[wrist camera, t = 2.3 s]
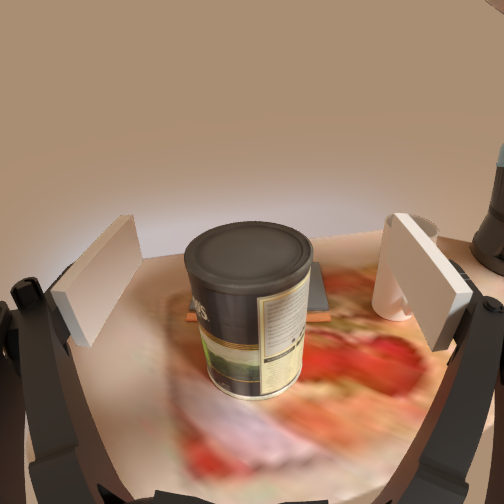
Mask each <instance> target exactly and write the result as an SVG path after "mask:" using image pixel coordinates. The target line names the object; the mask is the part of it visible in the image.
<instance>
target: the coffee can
mask: <svg viewBox="0 0 504 504" xmlns="http://www.w3.org/2000/svg"><path fill="white" fill-rule="evenodd" d="M312 261H313V247H312V244H311V242H310V241H309V239H308V238H307V237H306V236H304V235H303V234H302V233H300V232H299V231H297V230H295V229H293V228H290V227H287V226H284V225H280V224H276V223H271V222H261V221H247V222H237V223H230V224H226V225H222V226H218V227H215V228H213V229H210V230H208V231H206V232H204V233H202V234H201V235H199V236H198V237H196V238H195V239H194V240H192V242H190V244H189V245H188V246H187V248H186V250H185V254H184V262H185V266H186V270H187V272H188V275H189V280H190V286H191V291H192V296H193V302H194V306H195V311H196V316H197V321H198V325H199V330H200V335H201V340H202V344H203V349H204V353H205V358H206V362H207V370H208V374H209V376H210V378H211V380H212V381H213V383H214V384H215V385H216V386H217V387H218V388H219V389H220V390H221V391H223V392H224V393H226V394H228V395H230V396H232V397H235V398H238V399H243V400H264V399H269V398H272V397H275V396H277V395H279V394H281V393H283V392H284V391H286V390H287V389H289V388H290V387H291V386H292V385H293V384H294V383H295V382H296V380H297V379H298V377H299V375H300V372H301V368H302V354H303V345H304V335H305V326H306V315H307V305H308V294H309V281H310V269H311V264H312Z"/></svg>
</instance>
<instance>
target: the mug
mask: <svg viewBox="0 0 504 504" xmlns="http://www.w3.org/2000/svg"><path fill="white" fill-rule="evenodd" d="M393 215H394V214H392V215H389V216H388V217H386V219H385V225H384V231H383V237H382V244H381V251H380V257H379V264H378V270H377V275H376V281H375V286H374V292H373V298H372V307H373V309H374V311H375V312H376V313H377V314H378V315H379V316H381V317H382V318H384V319H387V320H390V321H404V320H407V319H409V318H410V317H412V315H414V314H413V312H412V310H411V308H410V306H409V304H408V302H407V300H406V298H405V296H404V294H403V292H402V290H401V289H400V287H399V285H398V283H397V281H396V279H395V277H394V276H393V274H392V272H391V270H390V268H389V267H388V265H387V263H386V261H385V260H386V255H387V250H388V244H389V239H390V233H391V227H392V221H393ZM408 215H409V216H410V217H411V218H412V219H413V220H414V221H415V223H416V224H417V225H418V226H419V227H420V228H421V229H422V230H423V231H424V233H425V234H426V235H427V236H428V237H429V238H430V239H431V240H432V242H433V243H434V244H435V245H436V242H437V238H438V234H439V230H438V228H437V227H436V225H434V224H433V223H432V222H430V221H428V220H427V219H424V218H422V217H419V216H416V215H411V214H408Z"/></svg>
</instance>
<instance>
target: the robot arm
mask: <svg viewBox="0 0 504 504" xmlns="http://www.w3.org/2000/svg"><path fill="white" fill-rule="evenodd" d="M485 1H486V2H488V3H489V4H490V5H491V6H493V7H494V8H495V9H496V10H498V11H499V12H501V13H502V14H504V0H485ZM496 166H497V170H496V176H495V182H494V187H493V192H492V197H491V201H490V206H489V210H488V214H487V216H486V217H485V219H484V221H483V223H482V224H481V226H480V228H479V231H477V232H476V233H475V235H474V238H473V241H472V244H471V251H472V253H473V255H474V256H475V257H476V258H477V259H478V260H479V261H480V262H481V263H482V264H483V265H484V266H486V267H487V268H489V269H490V270H492V271H494V272H496V273H498V274H500V275H503V276H504V144H502V146H501V147H500V151H499V157H498V162H497V163H496ZM385 261H386V263H387V265H388V267H389V268H390V270H391V272H392V274H393V276H394V277H395V279H396V281H397V283H398V285H399V287H400V289H401V290H402V292H403V294H404V296H405V298H406V300H407V302H408V304H409V306H410V308H411V310H412V312H413V314H414V316H415V318H416V320H417V322H418V324H419V326H420V328H421V330H422V332H423V334H424V336H425V339H426V341H427V343H428V345H429V347H430V350H431V352H434V351H441V350H447V349H448V347H449V345H450V343H451V341H452V339H454V340H455V342H456V344H457V346H456V348H455V350H454V352H453V354H452V355H451V357H450V359H449V361H448V363H447V365H448V368H447V370H446V373H445V375H444V378H443V380H442V382H441V385H440V387H439V389H438V392H437V394H436V396H435V399H434V401H433V403H432V405H431V407H430V409H429V411H428V413H427V415H426V418H425V420H424V422H423V423H422V425H421V427H420V429H419V431H418V433H417V435H416V437H415V439H414V440H413V442H412V444H411V446H410V448H409V449H408V451H407V453H406V455H405V456H404V458H403V460H402V461H401V463H400V465H399V466H398V468H397V469H396V471H395V473H394V474H393V476H392V477H391V479H390V480H389V482H388V483H387V485H386V486H385V488H384V489H383V491H382V492H381V493H380V495H379V496H378V497H377V498H376V499H375V501H373V503H372V504H463V502H464V500H465V498H466V496H467V493H468V490H469V484H468V483H466V482H465V478H466V475H467V472H468V470H469V467H470V465H471V462H472V460H473V457H474V455H475V452H476V449H477V446H478V444H479V441H480V438H481V435H482V432H483V428H484V425H485V422H486V419H487V415H488V412H489V408H490V404H491V400H492V396H493V392H494V388H495V418H494V438H493V451H492V461H491V469H490V476H489V483H488V489H487V495H486V500H485V504H504V306H503V304H502V303H501V302H500V301H498V300H497V299H495V298H493V297H489V296H483V295H482V294H481V292H480V291H479V290H478V288H477V287H476V286H475V284H474V283H473V282H472V281H471V280H470V278H469V277H468V276H467V274H465V272H464V271H463V269H462V268H461V267H460V266H459V265H458V264H456V263H455V262H454V261H452V260H448V259H447V258H446V257H445V256H444V255H443V253H442V252H441V251H440V250H439V249H438V247H437V246H436V245H435V244H434V243H433V242H432V240H431V239H430V238H429V237H428V236H427V235H426V234H425V233H424V231H423V230H422V229H421V228H420V227H419V226H418V225H417V224H416V223H415V221H414V220H413V219H412V218H411V217H410V216H409V215H408V214H407V213H394V215H393V221H392V227H391V233H390V239H389V244H388V250H387V255H386V260H385ZM142 262H143V259H142V255H141V251H140V246H139V241H138V237H137V232H136V227H135V223H134V217H133V215H122V216H119V217H118V218H117V219H116V220H115V221H114V222H113V223H112V224H111V225H110V226H109V227H108V228H107V229H106V230H105V231H104V232H103V233H102V234H101V235H100V236H99V237H98V238H97V240H95V241H94V242H93V244H92V245H91V246H90V247H89V248H88V249H87V250H86V251H85V252H84V253H83V254H82V255H81V256H80V257H79V258H78V259H77V261H75V262H74V263H72V264H71V265H70V266H68V267H67V268H66V269H65V270H64V271H63V272H62V275H60V276H59V277H58V278H57V280H55V281H54V282H53V284H52V285H51V286H50V287H49V288H48V289H47V291H46V292H45V293H43V291H42V289H41V286H40V284H39V282H38V280H37V278H35V277H28V278H25V279H23V280H21V281H19V282H18V283H16V284H15V285H14V286H13V287H12V289H11V291H10V293H11V295H12V297H13V299H14V301H15V303H16V305H17V307H18V309H17V310H11V311H10V310H9V308H8V306H7V304H6V302H4V301H0V504H26V493H25V477H24V428H25V412H26V414H27V419H28V425H29V431H30V435H31V440H32V445H33V449H34V453H35V461H34V462H31V463H30V464H29V467H28V468H29V474H30V478H31V482H32V485H33V488H34V492H35V495H36V498H37V501H38V504H214V503H211V502H208V501H205V500H203V499H200V498H197V497H193V496H186V495H180V494H174V493H169V492H164V491H159V490H155V494H154V497H149V498H142V499H137V500H134V498H133V497H132V496H131V494H130V493H129V492H128V490H127V489H126V488H125V487H124V485H123V484H122V482H121V481H120V479H119V477H118V475H117V473H116V471H115V469H114V467H113V465H112V463H111V461H110V458H109V456H108V454H107V452H106V450H105V447H104V445H103V443H102V440H101V438H100V436H99V433H98V431H97V428H96V426H95V423H94V421H93V418H92V416H91V413H90V410H89V407H88V405H87V402H86V399H85V396H84V393H83V390H82V387H81V384H80V381H79V378H78V374H77V371H76V368H75V364H74V361H73V357H72V353H71V350H70V347H69V345H68V343H67V339H68V338H69V336H70V335H71V336H72V338H73V340H74V342H75V344H76V345H78V346H84V347H89V348H91V346H92V344H93V343H94V341H95V339H96V337H97V335H98V334H99V332H100V330H101V328H102V327H103V325H104V323H105V322H106V320H107V318H108V316H109V315H110V313H111V311H112V310H113V308H114V306H115V305H116V303H117V301H118V300H119V298H120V297H121V295H122V293H123V292H124V290H125V289H126V287H127V285H128V284H129V282H130V281H131V279H132V277H133V276H134V274H135V273H136V271H137V270H138V268H139V266H140V265H141V263H142ZM3 351H4V353H5V356H4V354H3ZM280 504H328V500H321V501H306V502H284V503H280Z"/></svg>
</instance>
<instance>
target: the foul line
mask: <svg viewBox="0 0 504 504" xmlns="http://www.w3.org/2000/svg"><path fill="white" fill-rule="evenodd" d="M186 321H197V316H196V313H188V314H187V317H186ZM322 321H331V317H330V313H314V314H307V315H306V322H322Z"/></svg>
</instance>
